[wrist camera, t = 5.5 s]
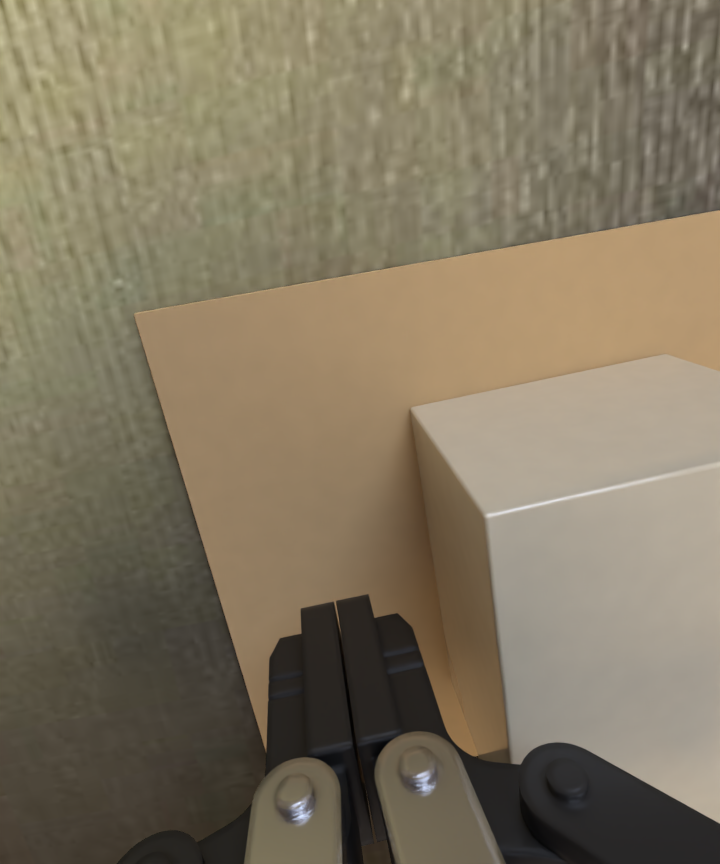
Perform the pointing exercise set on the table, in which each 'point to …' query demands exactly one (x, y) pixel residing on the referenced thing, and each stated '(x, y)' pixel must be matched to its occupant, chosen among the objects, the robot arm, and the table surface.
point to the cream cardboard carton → (584, 566)
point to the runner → (391, 409)
